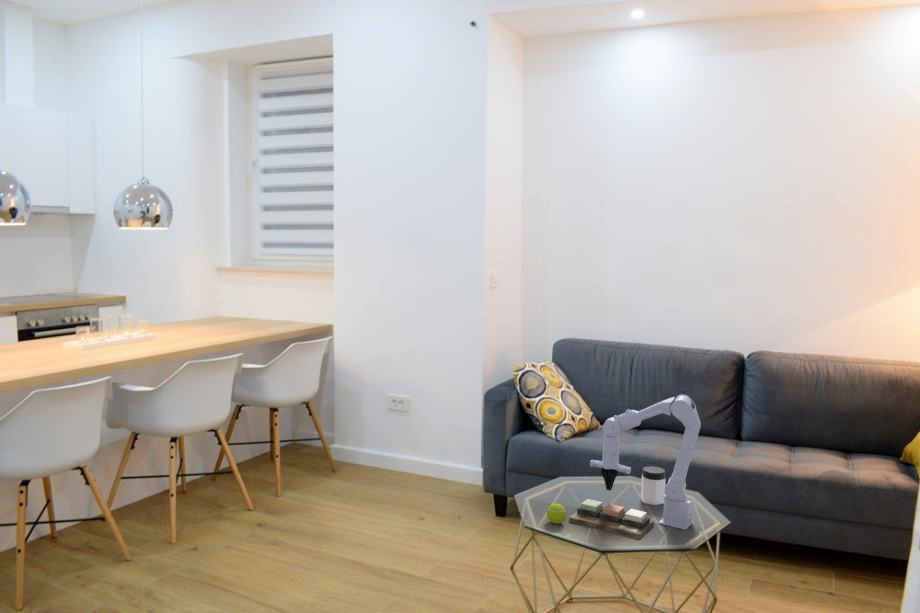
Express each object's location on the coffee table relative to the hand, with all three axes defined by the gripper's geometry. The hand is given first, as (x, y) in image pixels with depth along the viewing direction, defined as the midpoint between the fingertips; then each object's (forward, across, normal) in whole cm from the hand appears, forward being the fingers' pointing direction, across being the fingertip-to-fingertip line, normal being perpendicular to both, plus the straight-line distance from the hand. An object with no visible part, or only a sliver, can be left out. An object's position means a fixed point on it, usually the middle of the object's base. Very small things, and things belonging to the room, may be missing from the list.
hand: (609, 489), depth 275 cm
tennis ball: (+9, -11, -20) cm, 24 cm away
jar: (+9, +9, +20) cm, 24 cm away
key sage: (+5, -3, -7) cm, 10 cm away
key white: (+5, +13, -7) cm, 16 cm away
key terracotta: (+5, +5, -7) cm, 10 cm away
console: (+8, +5, -9) cm, 13 cm away
